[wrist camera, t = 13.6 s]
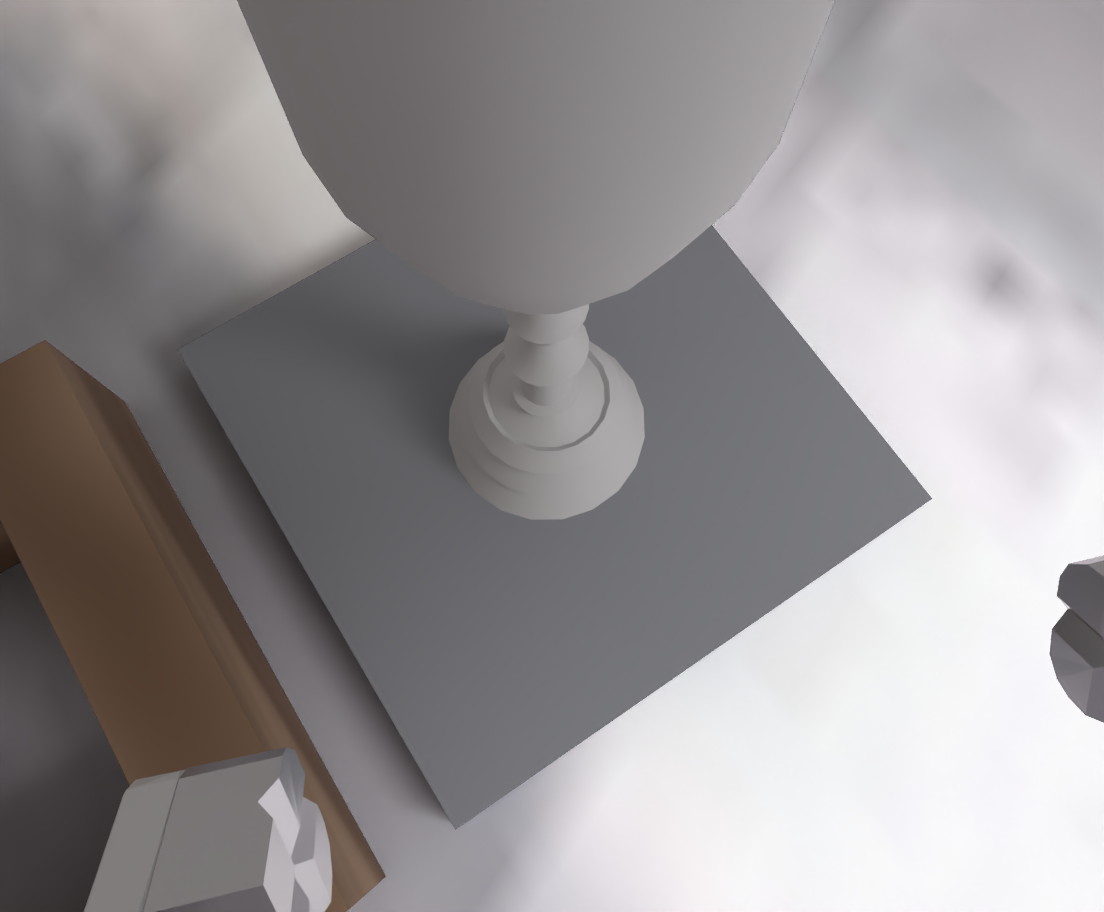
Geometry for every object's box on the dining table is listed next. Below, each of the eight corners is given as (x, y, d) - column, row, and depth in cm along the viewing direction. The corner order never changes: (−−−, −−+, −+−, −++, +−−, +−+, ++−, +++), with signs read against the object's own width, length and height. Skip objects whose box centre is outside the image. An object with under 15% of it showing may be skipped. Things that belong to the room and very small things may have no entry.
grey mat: (613, 128, 27) (615, 106, 26) (916, 508, 23) (932, 498, 22) (191, 364, 24) (177, 349, 23) (459, 825, 21) (455, 829, 20)
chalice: (495, 257, 24) (368, -896, 7) (724, 361, 23) (1215, -666, 6) (360, 489, 22) (-273, -323, 5) (604, 612, 21) (832, 129, 4)
